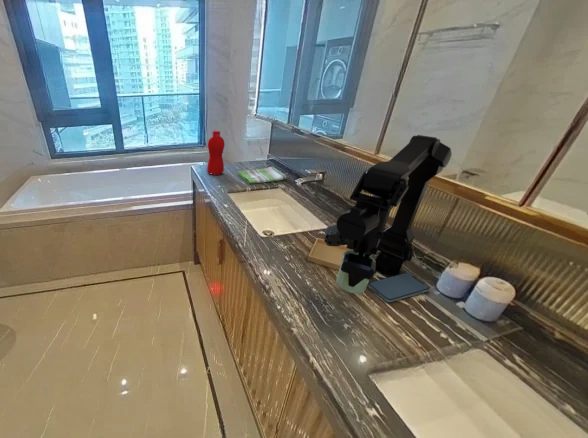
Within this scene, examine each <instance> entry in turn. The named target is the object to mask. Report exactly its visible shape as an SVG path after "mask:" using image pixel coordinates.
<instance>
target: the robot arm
mask: <svg viewBox="0 0 588 438" xmlns="http://www.w3.org/2000/svg"><path fill="white" fill-rule="evenodd" d="M452 154H453V153H452V149H451V147H449V146H448V145H445V144H444V143H443V142H441V139H440V138H437V137H435V136H428V135H422V134H421V135H420V134H417V135H413V136H411V138H410V140H409V142H408V143H407V144H406V145H405V146H404V147H403V148H401V150H399V151H398V152H397V153H396V154H395V155H394V156H393V157H392V158H391V159H389V160H388V161H380V162H377V163H375V164H374V165H372V166H370V167H369V168H368V169H366V170H365V171H364V172H363V173H362V175H361V176H360V179H359V180H358V182H357V184H356V186H355V187H354V190H353V191H352V193H351V194H350V196H349V200H350V201H354V202H356V203H355V205H353V206H351V207H350V209H349V210H348V211H345V212H344V213H342V214H341V215H339V217H338V218H337V220H336V225H329V226H327V227H326V229H325V231H324V239H323V240H324V242H326V244H327V245H328V246H340V245H346V246H347V248H348V249H351V250H352V249H353V252H355V253H357V252H359V253H358V255H356V254H352V253H349V254H346V255H345V256H344V259H343V263H342V266H341V270H342V271H343V272H345V273H348V285H349V286H351V287H354V286H356V285H357V284H358V283H360V282H361V281H362V280H364V279H368V280H369V281H370V280H373V278H374V276H375V273H376V272H378V273H381V274H385V275H387V276H388V275H389V276H390V277H393V276H397V275H400V271H401V269H402V266H403V264H404V263H407V262H411V261H412V259H413V257H414V252H415V247H414V244H413V242H414V239H415V235H414V232H413V229H412V226H413V223H414V221H415V218H416V216H417V214H418V212H419V209H420V207H421V203H422V201H423V199H424V197H425V194H426V191H427V189H428V186H429V184H430V181H431V179H433V178H434V177H435V176H437V175H438V174H441V172H442V171H443V169H444V168H446V167H447V166H448V164H449V163H450V161H451V158H452ZM368 194H370V195H368ZM393 208H397V210H396V212H395V215H394V218H393V221H392V223H391V225H390V226H388V227H387V228H386V226H387V222H388V219H389V216H390V214H391V211H392V210H393ZM364 254H365V255H364ZM372 255H375V259H374V258H373V259H374V260H375V262H374V261H373V259H370V258H369V257H370V256H371V257H372ZM363 256H364V257H363Z"/></svg>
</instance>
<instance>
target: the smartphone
mask: <svg viewBox="0 0 588 438" xmlns="http://www.w3.org/2000/svg"><path fill="white" fill-rule="evenodd" d="M367 288H369V289H370V290H371V291H373V292H374V293H375V294H376V295H377V296H378V297H380V298H381V299H382V300H383V301H384V302H387V303H393V302H396V301H400V300H403V299H406V298H410V297H413V296H416V295H420V294H424V293H427V292H429V291H430V286H428V285H427V284H426V283H425V282H423V281H421V280H420V279H418V278H417V277H416V276H414V275H413V274H411V273H408V272H404V273H401V274H400V273H399V275H397V276H389V277H386V278H381V279H378V280H374V281H371V282H368V285H367Z"/></svg>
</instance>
